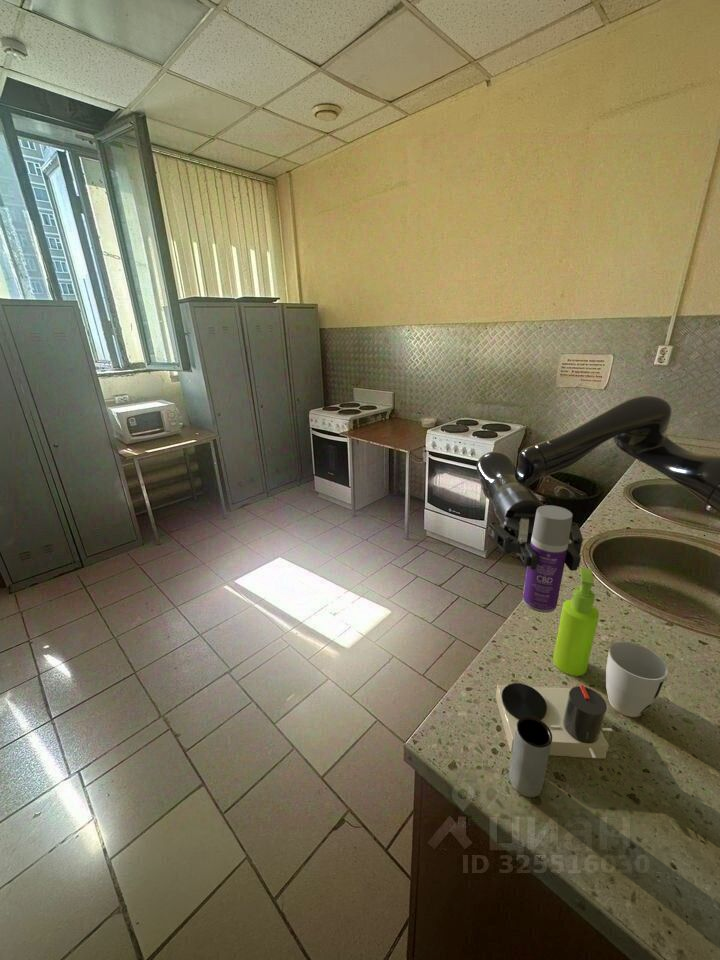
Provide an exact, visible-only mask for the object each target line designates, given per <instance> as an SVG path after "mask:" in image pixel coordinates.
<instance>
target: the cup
mask: <svg viewBox="0 0 720 960" xmlns="http://www.w3.org/2000/svg"><path fill="white" fill-rule="evenodd" d="M668 673H669V668H668V665H667V664H666V662H665V661H664V659H663V658H662V657H661V656H660V655H658V654H657V653H656V652H654V651H653V650H651V649H650V648H648V647H646V646H643V645H641V644H638V643H635V642H631V641H617V642H614V643H612V644H610V646H609V647H608V653H607V660H606V667H605V688H606V694H607V698H608V702H609V704H610V706H611V707H612V708H613V709H614V710H615V711H617V712H618V713H620V714H621V715H624V716H626V717H629V718H638V717H641V716H642V715H643V714H644V713H645V712H646V711H648V709H649V708H651V706H652V705H653V703H654V701H655V700H656V699H657V697H658V696H659V694H660V693H661V690H662V688H663V685H664V683H665V681H666V678H667V677H668Z"/></svg>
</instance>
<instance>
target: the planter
mask: <svg viewBox="0 0 720 960" xmlns="http://www.w3.org/2000/svg"><path fill="white" fill-rule="evenodd" d="M551 743H552V733H551V731H550V729H549V728H548V726H547V725H546V724H545V723H544V722H542V721H541V720H539V719H537V718H535V717H530V716H526V717H522V718H521V719H519V720H518V722H517V725H516V731H515V738H514V744H513V750H512V753H511V757H510V758H511V759H510V764H509V770H508V779H509V783H510V784H511V785H512V787H513V789H514V790H515V791H516V792H517V793H518V794H520V795H522V796H524V797H527V798H536V797H538V796H539V795H540V794H541V792H542V790H543V786H544V782H545V778H546V772H547V767H548V763H549V757H550V755H549V753H550V748H551Z"/></svg>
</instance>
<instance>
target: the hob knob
mask: <svg viewBox="0 0 720 960" xmlns="http://www.w3.org/2000/svg"><path fill="white" fill-rule="evenodd" d="M607 708H608V707H607V703H606V700H605V699H604V697H602V696H601V694H599V693H598V692H597V691H595V690H594V689H592V688H589V687H586V686H585V685H584V684H579V685H578V686H577V685H576V686H574V687H572V688H571V690H570V692H569V696H568V700H567V705H566V710H565V714H564V719H563V725H564V727H565V729H566V731H567V732H568V733H569V734H570V735H571V736H572V737H573V738H574V739H576V740H578V741H580V742H583V743H587V744H591V743H595V742H596V741H597V740H598V739H599V736H600V732H601V731H602V728H603V724H604V721H605V717H606V713H607Z"/></svg>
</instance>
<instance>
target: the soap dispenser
mask: <svg viewBox="0 0 720 960" xmlns="http://www.w3.org/2000/svg"><path fill="white" fill-rule="evenodd" d="M579 572H580V573H579V574H580V585H579V587H576V588H574V590H573V593H572V598H570V599H567V600H564V602H563V603H562V609H561V613H560V619H559V624H558V629H557V635H556V641H555V644H554V645H555V646H554V651H553V657H552V661H553V663H554V666H555V667H556V668H557V669H558V670H559V671H561V672H563V673H564V674H567V675H569V676H574V677H578V676H579V677H580V676H583V675H584V674H585V673H587V670H588V665H589V662H590V657H591V652H592V648H593V644H594V639H595V635H596V630H597V626H598V623H599V619H600V612H599V610H598V608H597V607H596V606H595V605H594V602H595V599H596V596H595V595H596V594H595V593H594V592H593V591H592V587H594V586H595V579H594V573H593V570H592V569H591V568H587V567H583V566H579Z"/></svg>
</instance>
